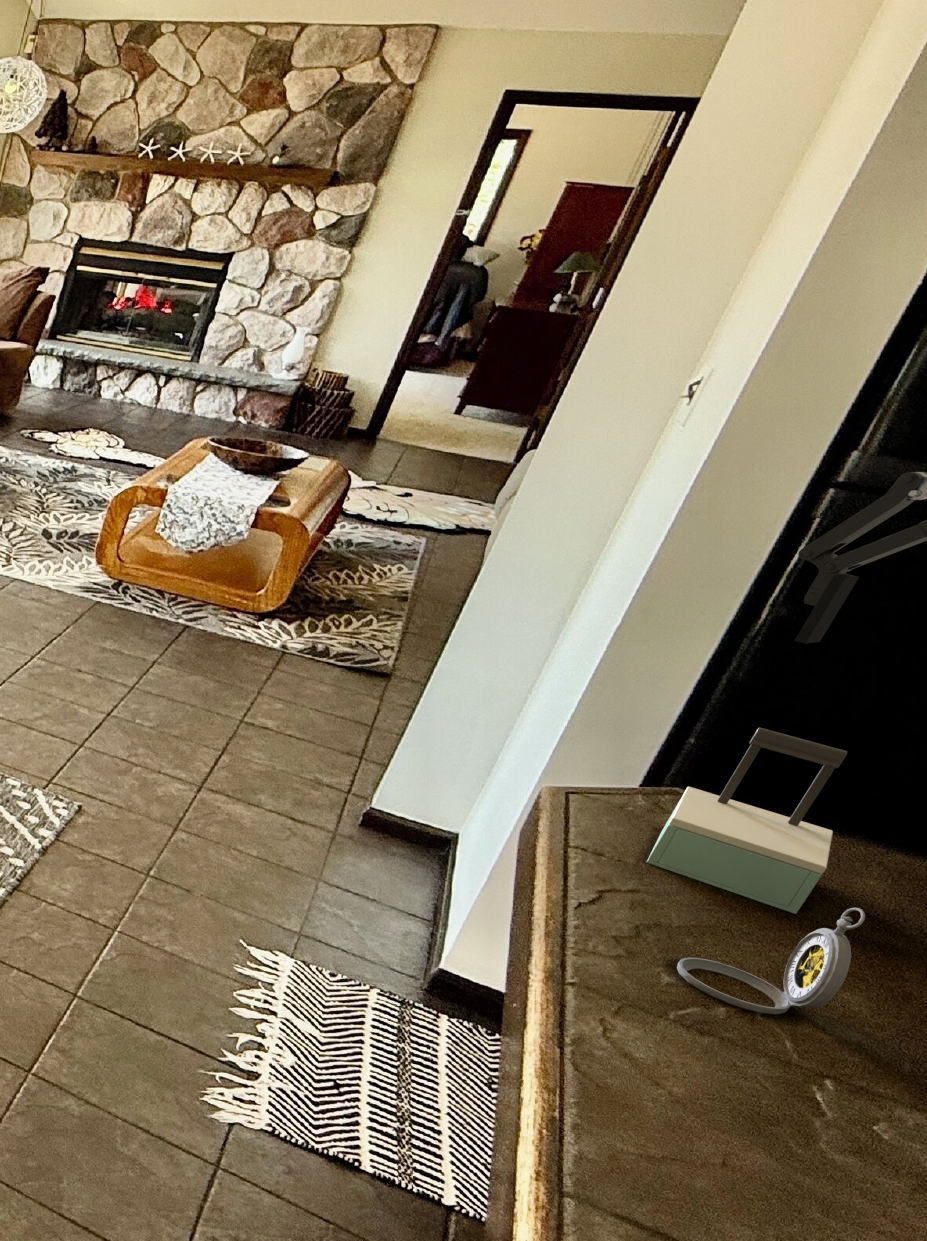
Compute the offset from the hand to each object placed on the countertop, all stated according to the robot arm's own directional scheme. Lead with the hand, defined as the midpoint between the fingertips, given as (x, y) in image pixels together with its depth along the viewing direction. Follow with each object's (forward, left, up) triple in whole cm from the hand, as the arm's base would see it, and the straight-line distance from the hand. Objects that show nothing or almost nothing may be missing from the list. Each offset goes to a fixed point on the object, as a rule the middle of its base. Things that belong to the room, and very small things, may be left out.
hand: (909, 670), depth 104 cm
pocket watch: (+7, +27, -24) cm, 37 cm away
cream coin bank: (+3, -2, -19) cm, 19 cm away
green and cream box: (+3, -2, -24) cm, 24 cm away
